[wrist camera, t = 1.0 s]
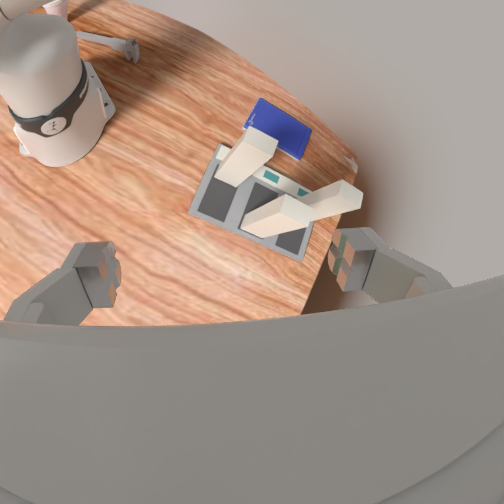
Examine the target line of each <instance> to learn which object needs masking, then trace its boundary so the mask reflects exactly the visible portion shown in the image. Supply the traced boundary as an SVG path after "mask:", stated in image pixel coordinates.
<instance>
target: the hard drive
mask: <svg viewBox="0 0 504 504" xmlns="http://www.w3.org/2000/svg"><path fill="white" fill-rule="evenodd" d="M249 126H251V127H253V128H255V129H257V130H259V131H261V132H263V133H265V134H267V135H269V136H270V137H272V138H274V139H276V140H278V141H279V142H278V144H277V147H276V148H277V149H279V150H280V151H282V152H284V153H285V154H287V155H289V156H290V157H292V158H294V159H295V160H297V161H299V160H300V159H301V157H302V155H303V152H304V150H305V147H306V144H307V142H308V139H309V137H310V134H311V131H312V130H311V129H310V128H308V127H307V126H305V125H304V124H302V123H301V122H299V121H297V120H296V119H294V118H293V117H291V116H290V115H288V114H287V113H285V112H283V111H282V110H280V109H278V108H277V107H275V106H273V105H272V104H270V103H268V102H267V101H265V100H263V99H262V98H259V99H258V100H257V102H256V104H255V105H254V107H253V109H252V111H251V112H250V114H249V116H248V118H247V120H246V121H245V123H244V125H243V127H242V129H244V130H246V129H247V128H248V127H249Z"/></svg>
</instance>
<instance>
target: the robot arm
mask: <svg viewBox="0 0 504 504" xmlns="http://www.w3.org/2000/svg"><path fill="white" fill-rule="evenodd" d="M53 1H55V0H0V95H1V96H2V98H3V99H4V100H5V101H6V103H7V104H8V107H9V111H10V113H11V116H12V118H13V119H14V121H15V127H14V132H15V134H16V135H17V137H18V138H19V140H20V148H19V149H20V152H21V154H22V155H24V156H28V157H34V158H35V159H37V160H38V161H39V162H40V163H42V164H44V165H46V166H51V167H61V166H66V165H69V164H71V163H74V162H76V161H77V160H79V159H81V158H82V157H83V156H85V155H86V154H87V153H88V152H89V151H90V150H91V149H92V148H93V147H94V145H95V144H96V142H97V141H98V139H99V137H100V135H101V133H102V131H103V128H104V126H105V124H106V122H107V121H108V120H109V119H110V118H111V117H112V116H113V115H114V113H115V111H116V108H115V106H114V104H113V102H112V100H111V98H110V97H109V95H108V93H107V91H106V90H105V88H104V86H103V84H102V83H101V81H100V79H99V77H98V76H97V74H96V72H95V70H94V68H93V66H92V65H91V63H90V62H87V61H83V60H82V59H81V58H80V53H79V48H78V42H77V36H76V31H75V29H74V27H73V26H72V25H71V24H70V23H69V22H68V21H67V20H66V19H64V18H62V17H60V16H58V15H53V14H30V13H27V12H29V11H31V10H34V9H36V8H38V7H40V6H43V5H45V4H48V3H50V2H53ZM105 105H108V106H105ZM332 241H333V243H334V245H333V246H332V247H331V248H330V249H329V253H328V264H329V267H330V269H331V271H332V273H334V274H336V275H337V282H338V283H339V285H340V287H341V289H342V290H343V291H353V290H362V291H364V292H365V293H366V294H368V295H369V296H370V297H372V298H373V299H374V300H375V301H377V302H378V303H379V304H374V305H368V306H361V307H355V308H349V309H342V310H336V311H329V312H322V313H314V314H307V315H298V316H289V317H280V318H271V319H261V320H250V321H238V322H224V323H209V324H191V325H167V326H79V324H80V323H81V322H82V321H83V320H84V319H85V318H86V316H87V315H88V314H89V313H90V312H91V311H92V310H93V308H113V306H114V303H115V300H116V296H117V293H116V289H117V288H118V287H119V286H120V283H121V266H120V263H119V261H118V260H117V259H116V258H115V257H114V255H115V253H116V249H115V245H114V243H113V242H112V241H100V242H83V243H76V244H75V245H74V246H73V248H72V250H71V251H70V253H69V255H68V256H67V258H66V260H65V261H64V263H63V265H62V266H61V268H59V269H56V270H54V271H53V272H52V273H50V274H49V275H47V276H46V277H45V278H43V279H42V280H40V281H39V282H38V283H36V284H35V285H34V286H32V287H31V288H30V289H28V290H27V291H26V292H24V293H23V294H22V295H21V296H19V297H18V298H17V299H15V300H14V301H13V303H12V305H11V307H10V308H9V310H8V312H7V314H6V316H5V318H4V320H0V504H504V275H501V276H498V277H494V278H491V279H487V280H483V281H480V282H476V283H472V284H468V285H464V286H460V287H456V288H453V287H452V286H451V285H450V283H449V282H448V281H447V280H446V279H445V277H444V276H443V275H442V274H441V273H440V272H438V271H436V270H434V269H432V268H431V267H429V266H427V265H425V264H422V263H421V262H419V261H417V260H415V259H413V258H411V257H409V256H407V255H405V254H403V253H401V252H399V251H397V250H395V249H390V248H389V247H388V246H387V245H386V244H385V243H384V242H383V240H381V238H380V237H379V236H378V235H377V234H376V233H375V232H374V231H373V229H372V228H369V227H364V228H349V229H335V230H334V232H333V235H332Z"/></svg>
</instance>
